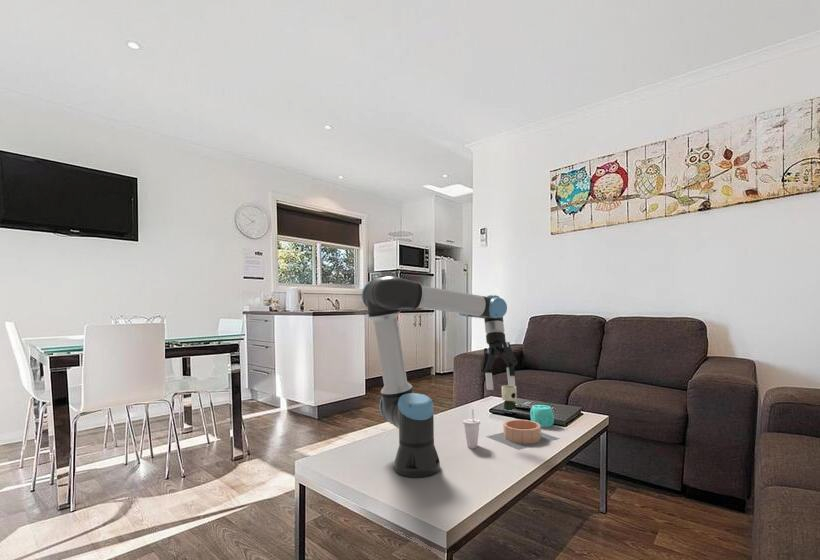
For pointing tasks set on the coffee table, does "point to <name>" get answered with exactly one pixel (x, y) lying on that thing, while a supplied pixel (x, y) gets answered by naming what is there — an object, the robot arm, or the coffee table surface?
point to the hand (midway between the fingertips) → (500, 387)
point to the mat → (519, 446)
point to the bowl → (522, 431)
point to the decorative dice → (542, 415)
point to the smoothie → (471, 431)
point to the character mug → (509, 396)
